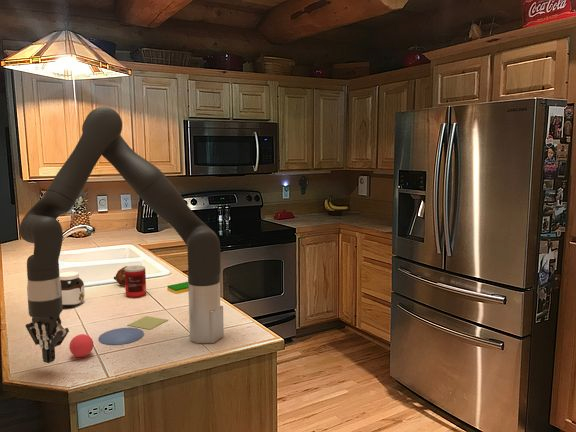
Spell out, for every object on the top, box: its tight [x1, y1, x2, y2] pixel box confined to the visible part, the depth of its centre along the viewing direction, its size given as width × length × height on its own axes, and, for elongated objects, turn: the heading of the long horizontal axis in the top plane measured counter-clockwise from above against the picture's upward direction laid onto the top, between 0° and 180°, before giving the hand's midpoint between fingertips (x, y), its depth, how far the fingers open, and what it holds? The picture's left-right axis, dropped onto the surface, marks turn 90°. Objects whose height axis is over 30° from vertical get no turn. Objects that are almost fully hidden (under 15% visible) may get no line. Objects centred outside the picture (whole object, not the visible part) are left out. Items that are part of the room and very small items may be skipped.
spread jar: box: [59, 271, 85, 309], centre depth 170 cm, size 12×11×12 cm
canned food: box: [124, 264, 147, 299], centre depth 180 cm, size 8×8×11 cm
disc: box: [97, 327, 145, 346], centre depth 141 cm, size 13×13×1 cm
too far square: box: [127, 315, 169, 331], centre depth 152 cm, size 9×9×1 cm
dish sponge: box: [166, 281, 189, 295], centre depth 190 cm, size 7×14×2 cm, turn 132°
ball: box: [69, 333, 94, 358], centre depth 127 cm, size 6×6×6 cm
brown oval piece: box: [113, 265, 129, 287], centre depth 195 cm, size 8×8×12 cm
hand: (49, 361), depth 118 cm, fingers closed
